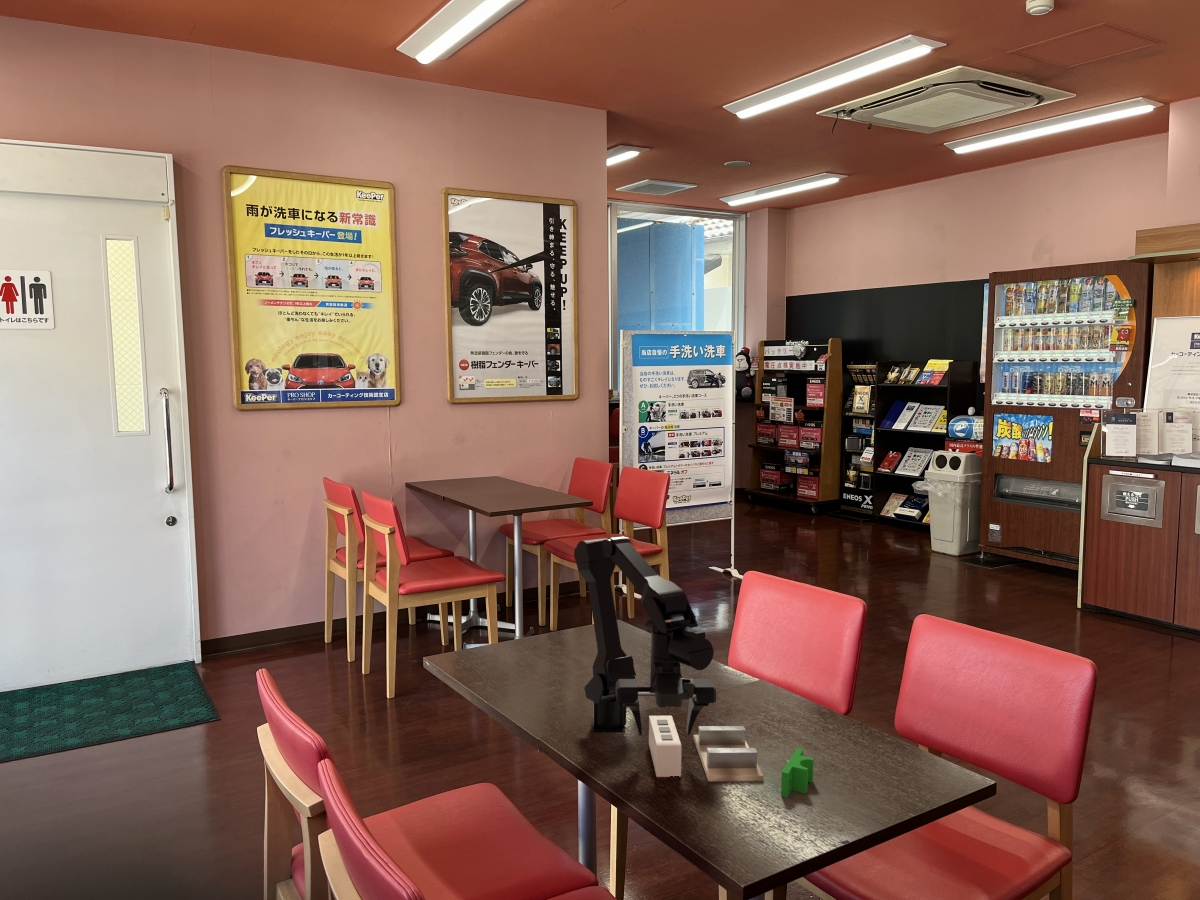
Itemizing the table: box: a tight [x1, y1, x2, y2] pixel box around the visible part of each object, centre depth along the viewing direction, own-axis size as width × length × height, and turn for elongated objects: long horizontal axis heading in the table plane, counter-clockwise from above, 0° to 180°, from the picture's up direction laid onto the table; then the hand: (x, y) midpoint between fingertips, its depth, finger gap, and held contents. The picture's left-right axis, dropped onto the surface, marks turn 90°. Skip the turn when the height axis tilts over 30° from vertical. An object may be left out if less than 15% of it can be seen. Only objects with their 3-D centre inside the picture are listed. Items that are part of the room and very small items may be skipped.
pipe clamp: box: [780, 747, 815, 798], centre depth 151 cm, size 11×4×5 cm, turn 153°
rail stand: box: [693, 725, 764, 782], centre depth 161 cm, size 10×18×4 cm, turn 2°
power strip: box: [648, 715, 682, 778], centre depth 161 cm, size 4×14×6 cm, turn 2°
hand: (664, 734), depth 161 cm, fingers open, 9 cm apart
